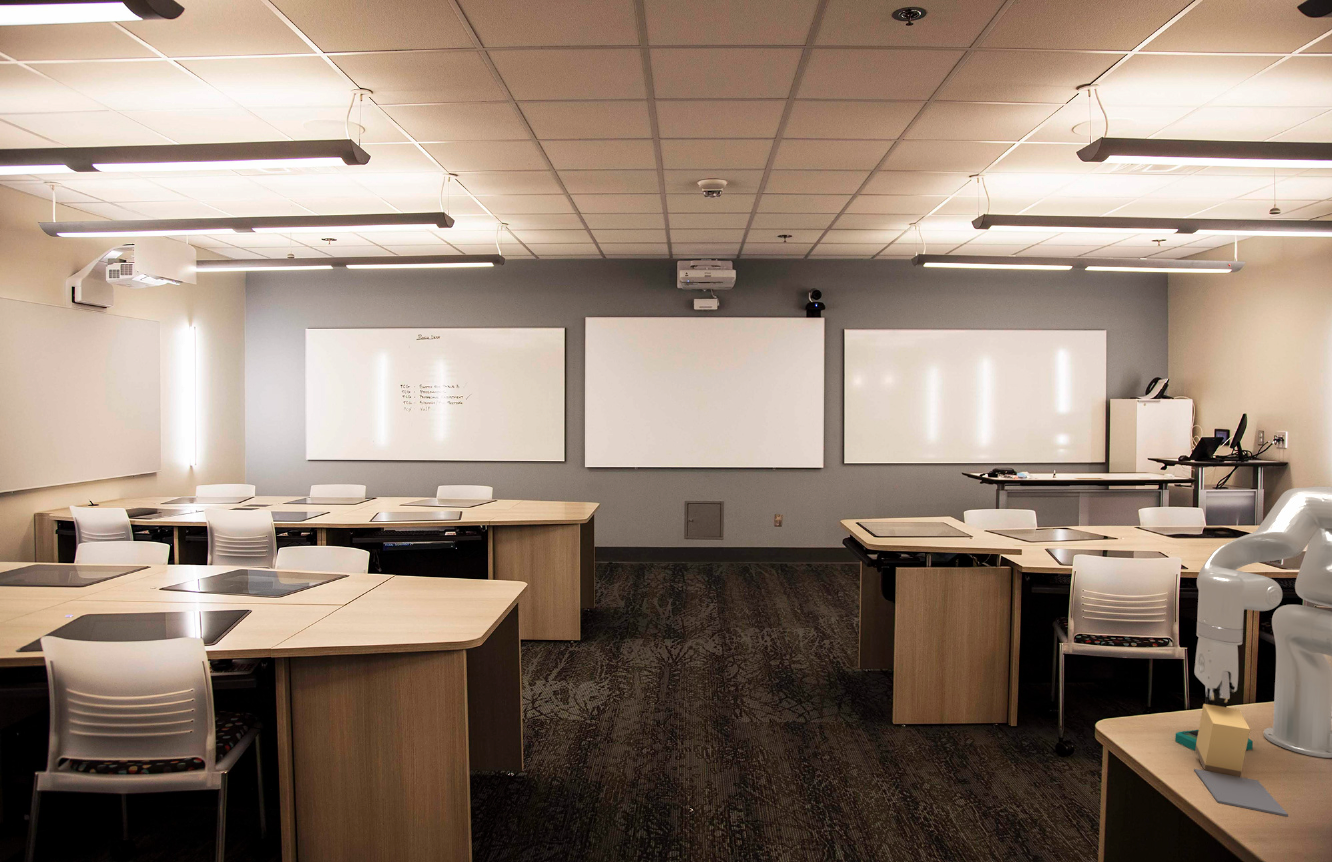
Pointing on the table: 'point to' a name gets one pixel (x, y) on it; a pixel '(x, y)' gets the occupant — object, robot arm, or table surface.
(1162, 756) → the table surface
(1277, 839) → the table surface
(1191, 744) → the digital multimeter
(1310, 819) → the table surface
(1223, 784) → the mat
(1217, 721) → the ochre block
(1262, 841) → the table surface
